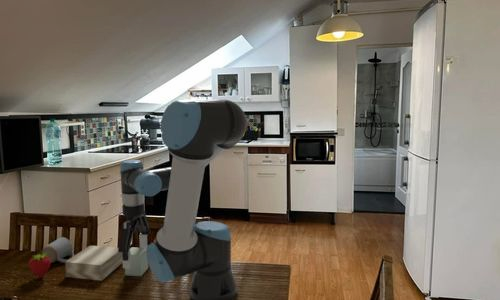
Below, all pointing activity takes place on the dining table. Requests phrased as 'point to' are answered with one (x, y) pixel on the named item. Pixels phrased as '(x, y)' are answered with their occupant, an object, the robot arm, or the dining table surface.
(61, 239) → the ceramic mug
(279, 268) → the dining table surface
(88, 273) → the birch block
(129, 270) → the sage block
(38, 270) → the strawberry
